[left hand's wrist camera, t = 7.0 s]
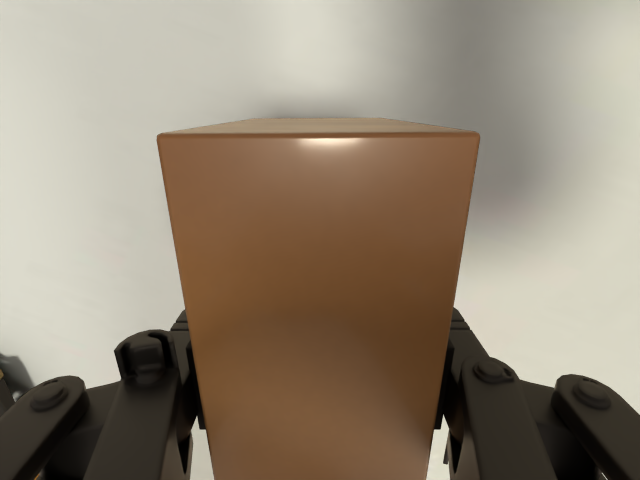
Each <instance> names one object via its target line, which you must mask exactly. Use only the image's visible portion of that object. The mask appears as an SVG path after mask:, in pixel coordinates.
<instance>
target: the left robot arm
mask: <svg viewBox="0 0 640 480" xmlns="http://www.w3.org/2000/svg"><path fill="white" fill-rule="evenodd" d="M114 353H115V357H116V361H117V364H118V368H119V372H120V375H121V380H120V381H118V382H115V383H111V384H107V385H103V386H98V387H94V388H90V389H86V387H85V384H84V381H83V380H82V379H80V378H79V377H76V376H62V377H57V378H54V379H51V380H48V381H45V382H43V383H41V384H39V385H37V386H36V387H34V388H32V389H30V390H29V391H28V392H27V393H25V394H24V395H23V396H22V397H21V398H20V399H18V400H17V401H16V402H15V403H14V404H13V405H12V406H11V407H10V408H9V409H8V410H7V411H6V412H5V413H4V414H3V415H2V416H1V417H0V480H190V472H191V461H192V450H193V439H192V433H191V429H192V426H193V424H194V421H195V419H196V416H197V417H198V423H199V428H200V429H206V427H205V421H204V415H203V409H202V404H201V398H200V392H199V386H198V380H197V374H196V368H195V362H194V357H193V351H192V345H191V339H190V333H189V327H188V321H187V315H186V309H185V310H184V311H182V313H181V314H180V316H179V317H178V319H177V320H176V323H174V325H173V326H172V328H171V330H170V331H169V332H168V331H164V330H147V331H143V332H139V333H137V334H134V335H132V336H130V337H128V338H126V339H125V340H124V341H122V342H121V343H119V345H118V346H117V347H116V349H115V350H114ZM443 414H444V417H445V419H446V422H447V424H448V427H449V433H448V438H447V444H446V449H445V454H444V461H443V464H448V460H449V471H450V480H606V478H607V479H608V480H640V415H639V414H638V413H637V412H636V411H635V410H634V409H633V408H632V407H631V406H630V405H629V404H628V403H627V402H626V401H625V400H624V399H623V398H622V397H621V396H620V395H618V394H617V393H616V392H615V391H613V390H612V389H611V388H610V387H608V386H606V385H604V384H602V383H600V382H599V381H597V380H594V379H591V378H588V377H585V376H581V375H574V374H569V375H562V376H561V377H560V378H559V379H557V381H556V384H555V388H552V387H548V386H544V385H539V384H535V383H530V382H527V381H523V380H520V379H519V378H518V376H517V374H516V373H515V371H514V370H513V369H512V368H510V367H509V366H508V365H507V364H505V363H503V362H501V361H499V360H497V359H495V358H492V357H489V355H488V354H487V352H486V351H485V349H484V348H483V346H482V345H481V344H480V342H479V341H478V339H477V338H476V336H475V335H474V333H473V332H472V330H470V327H469V326H468V324H467V323H466V322H465V321H464V319H463V317H462V316H461V314H460V313H459V311H458V310H457V309H455V308H454V307H453V312H452V318H451V325H450V331H449V337H448V344H447V350H446V356H445V363H444V369H443V375H442V382H441V388H440V394H439V401H438V407H437V413H436V420H435V426H434V429H441V424H442V418H443ZM602 473H603V474H604V475H605V477H606V478H605V477H604V476H603V474H602ZM38 474H39V475H38ZM37 476H38V477H37ZM36 477H37V478H36ZM35 478H36V479H35Z"/></svg>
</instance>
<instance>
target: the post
mask: <svg viewBox="0 0 640 480" xmlns="http://www.w3.org/2000/svg"><path fill="white" fill-rule="evenodd" d="M479 142H480V134H479V133H477V132H475V131H468V130H461V129H454V128H447V127H440V126H433V125H426V124H419V123H413V122H406V121H399V120H392V119H385V118H264V119H248V120H242V121H235V122H229V123H223V124H216V125H210V126H204V127H197V128H191V129H184V130H178V131H172V132H165V133H161V134H159V135H157V145H158V151H159V157H160V163H161V168H162V174H163V180H164V186H165V192H166V198H167V204H168V210H169V215H170V221H171V227H172V233H173V239H174V245H175V251H176V257H177V262H178V268H179V274H180V280H181V286H182V292H183V298H184V304H185V309H186V315H187V321H188V327H189V333H190V339H191V345H192V351H193V357H194V362H195V368H196V374H197V380H198V386H199V392H200V398H201V404H202V409H203V415H204V421H205V427H206V433H207V439H208V445H209V451H210V456H211V462H212V468H213V474H214V480H426V476H427V470H428V464H429V458H430V451H431V445H432V439H433V432H434V426H435V420H436V413H437V407H438V401H439V394H440V388H441V382H442V375H443V369H444V363H445V356H446V350H447V344H448V337H449V331H450V325H451V318H452V312H453V306H454V300H455V293H456V287H457V281H458V274H459V268H460V262H461V255H462V249H463V243H464V236H465V230H466V224H467V217H468V211H469V205H470V198H471V192H472V186H473V179H474V173H475V167H476V160H477V154H478V148H479Z"/></svg>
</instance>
